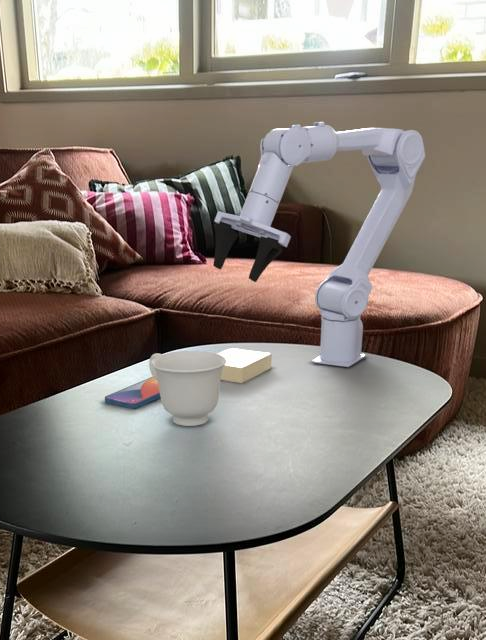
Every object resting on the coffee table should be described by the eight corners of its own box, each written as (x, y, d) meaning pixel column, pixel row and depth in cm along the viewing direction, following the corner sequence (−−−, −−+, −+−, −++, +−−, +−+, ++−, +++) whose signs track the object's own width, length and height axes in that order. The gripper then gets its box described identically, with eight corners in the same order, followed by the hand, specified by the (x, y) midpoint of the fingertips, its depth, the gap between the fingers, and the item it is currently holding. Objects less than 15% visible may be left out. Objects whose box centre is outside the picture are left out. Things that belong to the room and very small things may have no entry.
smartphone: (102, 403, 134) (101, 397, 133) (155, 380, 145) (154, 375, 144) (134, 410, 130) (134, 404, 129) (186, 386, 141) (186, 381, 140)
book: (230, 362, 156) (230, 347, 155) (271, 368, 152) (271, 352, 151) (199, 377, 147) (198, 361, 146) (241, 383, 143) (241, 367, 141)
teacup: (179, 400, 134) (177, 344, 129) (242, 419, 124) (242, 358, 120) (126, 417, 126) (122, 358, 122) (190, 438, 117) (187, 374, 112)
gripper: (219, 180, 133) (191, 255, 136) (291, 201, 127) (260, 280, 130) (236, 194, 139) (208, 266, 142) (305, 215, 134) (275, 290, 136)
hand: (234, 273), depth 137 cm, fingers open, 7 cm apart
